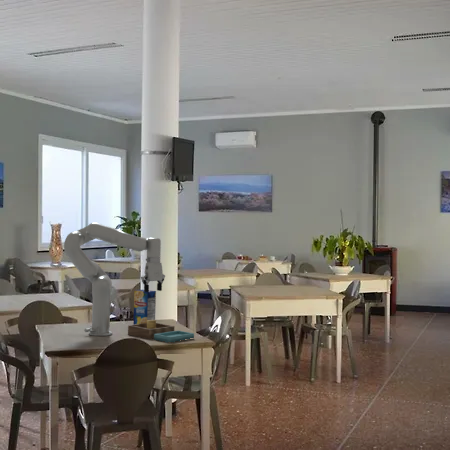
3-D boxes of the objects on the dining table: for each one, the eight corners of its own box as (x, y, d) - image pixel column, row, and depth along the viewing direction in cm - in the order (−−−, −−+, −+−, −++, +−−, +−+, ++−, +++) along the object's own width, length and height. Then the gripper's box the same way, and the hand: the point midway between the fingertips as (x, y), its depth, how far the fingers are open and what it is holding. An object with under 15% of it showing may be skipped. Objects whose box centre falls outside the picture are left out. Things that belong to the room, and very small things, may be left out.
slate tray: (170, 343, 329) (170, 337, 329) (154, 339, 337) (154, 334, 337) (193, 338, 343) (194, 333, 343) (178, 335, 350) (178, 330, 350)
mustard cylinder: (150, 336, 348) (151, 321, 348) (144, 334, 351) (145, 320, 351) (157, 334, 352) (158, 320, 352) (151, 333, 355) (151, 319, 355)
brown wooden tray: (150, 338, 339) (150, 329, 339) (127, 334, 350) (128, 325, 350) (174, 335, 352) (174, 326, 352) (151, 330, 364) (152, 322, 364)
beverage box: (146, 330, 367) (147, 291, 367) (133, 327, 373) (134, 290, 373) (154, 328, 372) (156, 291, 372) (141, 326, 379) (142, 289, 379)
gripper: (146, 261, 342) (145, 292, 342) (169, 260, 355) (168, 290, 356) (137, 260, 347) (136, 291, 347) (160, 259, 360) (159, 289, 360)
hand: (152, 291), depth 351 cm, fingers open, 9 cm apart
